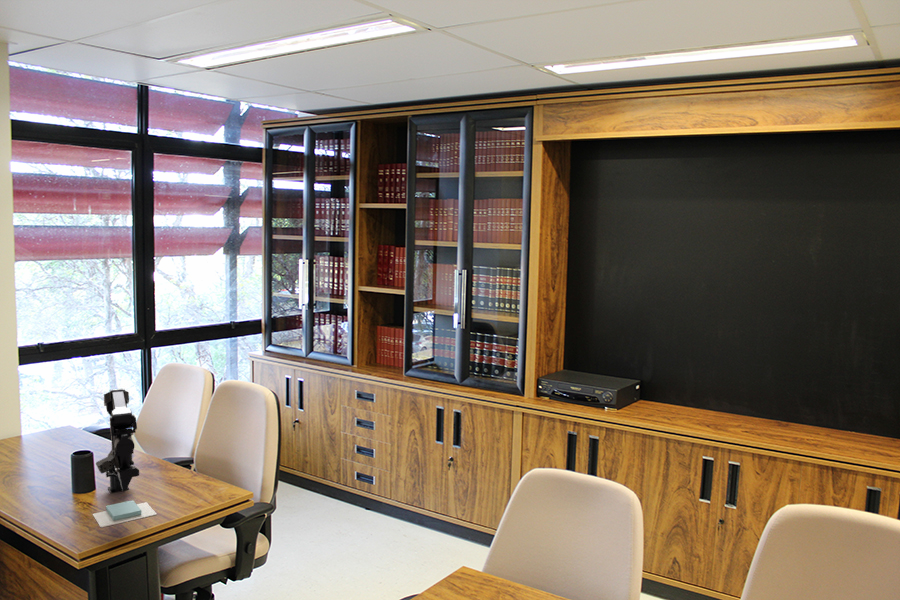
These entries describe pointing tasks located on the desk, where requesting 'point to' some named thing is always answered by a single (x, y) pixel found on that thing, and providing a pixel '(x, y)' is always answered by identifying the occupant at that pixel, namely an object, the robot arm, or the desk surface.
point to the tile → (123, 510)
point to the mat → (106, 519)
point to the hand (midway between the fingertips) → (124, 490)
